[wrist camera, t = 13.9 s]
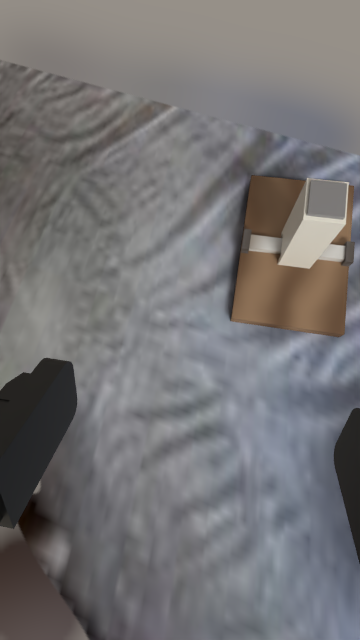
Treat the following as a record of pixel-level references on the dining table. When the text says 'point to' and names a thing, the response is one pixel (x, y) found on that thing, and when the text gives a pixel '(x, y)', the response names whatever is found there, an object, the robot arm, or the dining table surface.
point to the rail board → (289, 267)
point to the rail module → (313, 222)
